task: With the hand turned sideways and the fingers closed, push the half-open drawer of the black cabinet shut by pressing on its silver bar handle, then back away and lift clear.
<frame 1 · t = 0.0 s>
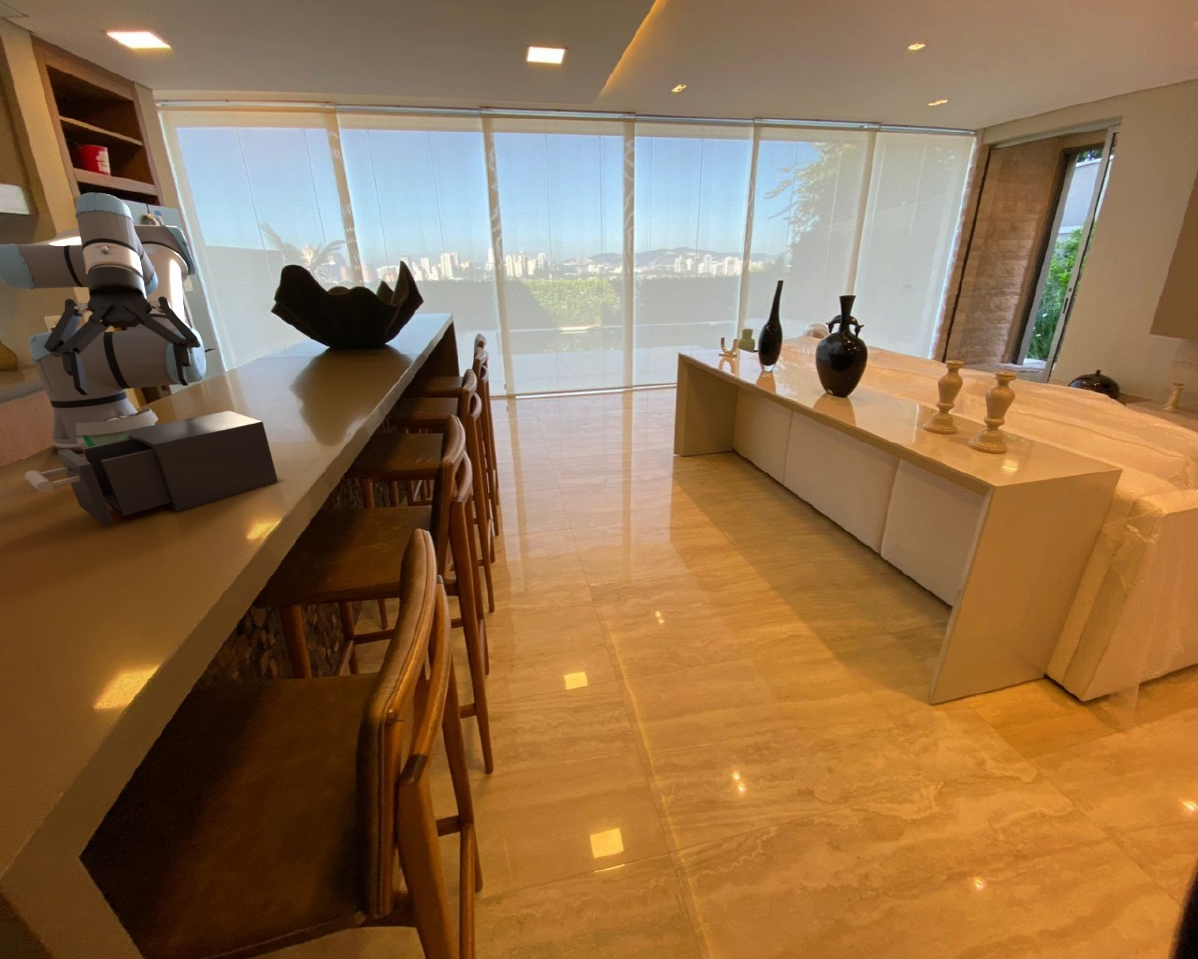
hand: (134, 387, 89), 15 cm above the counter, tool tilted 35°, fingers open, 13 cm apart
drawer: (120, 477, 78), point 5 cm above the counter, slide at 7.0 cm
cabinet: (214, 487, 88), on the counter
food container: (143, 468, 97), on the counter
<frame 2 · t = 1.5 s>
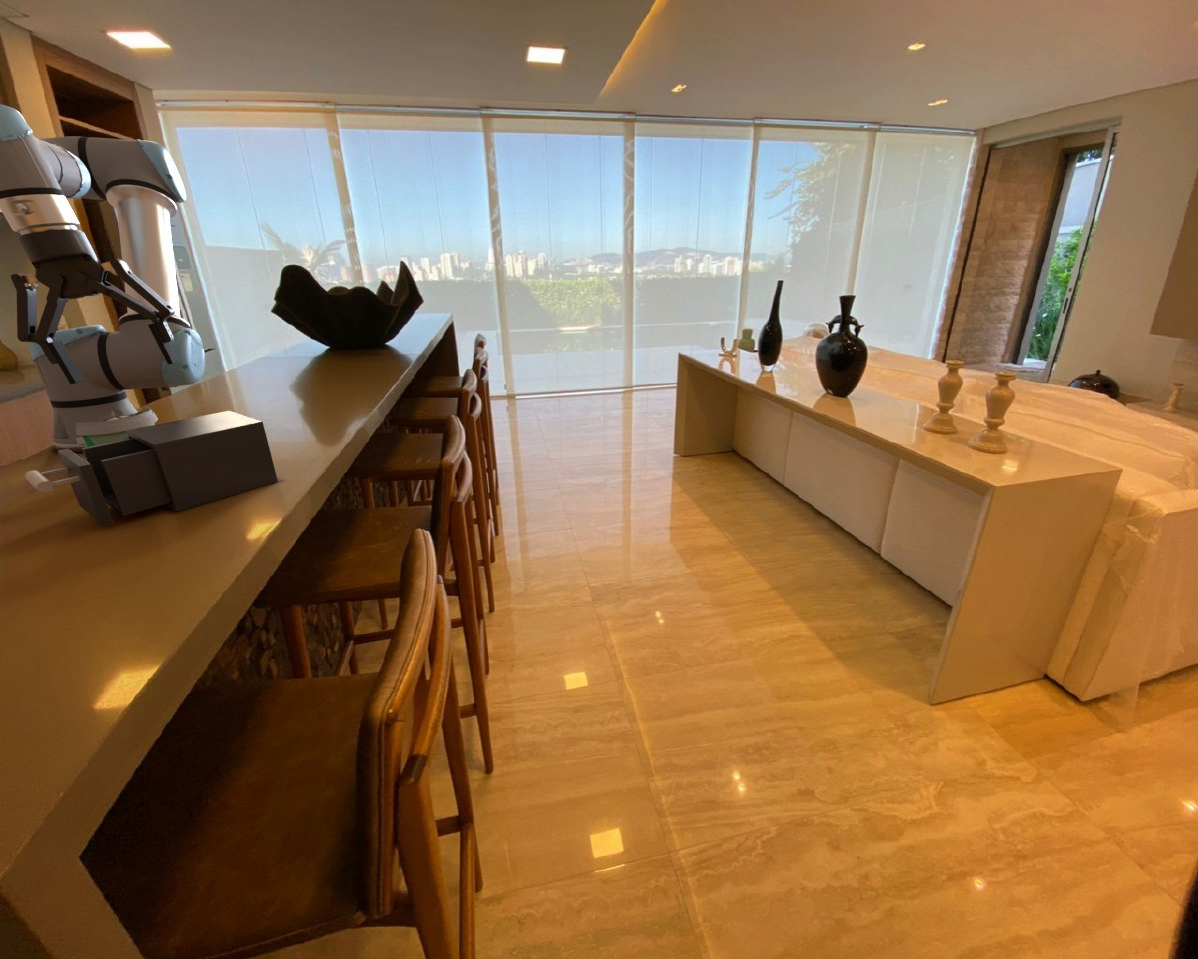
hand: (126, 372, 87), 18 cm above the counter, tool pointing down, fingers open, 13 cm apart
nothing on the counter moved.
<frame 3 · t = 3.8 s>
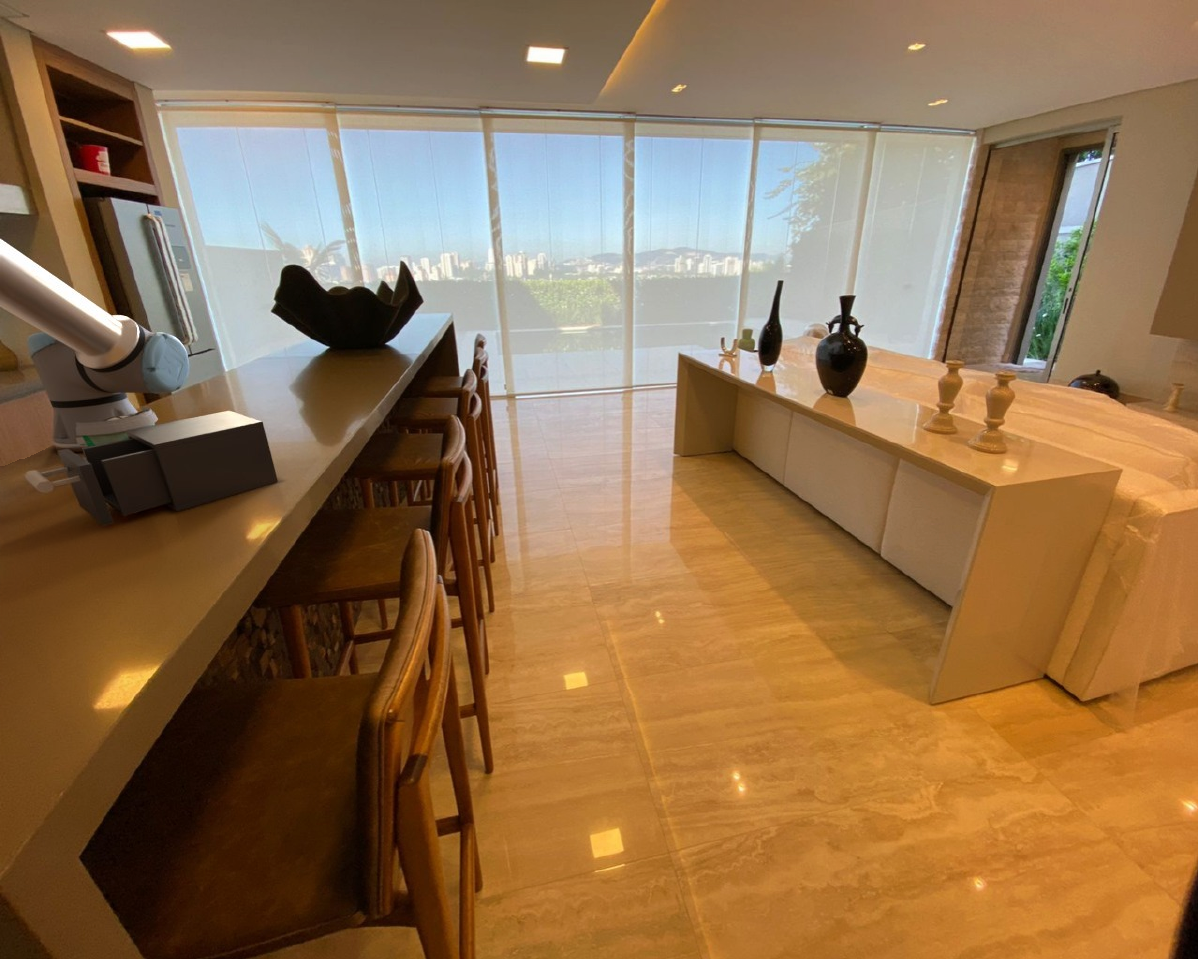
nothing on the counter moved.
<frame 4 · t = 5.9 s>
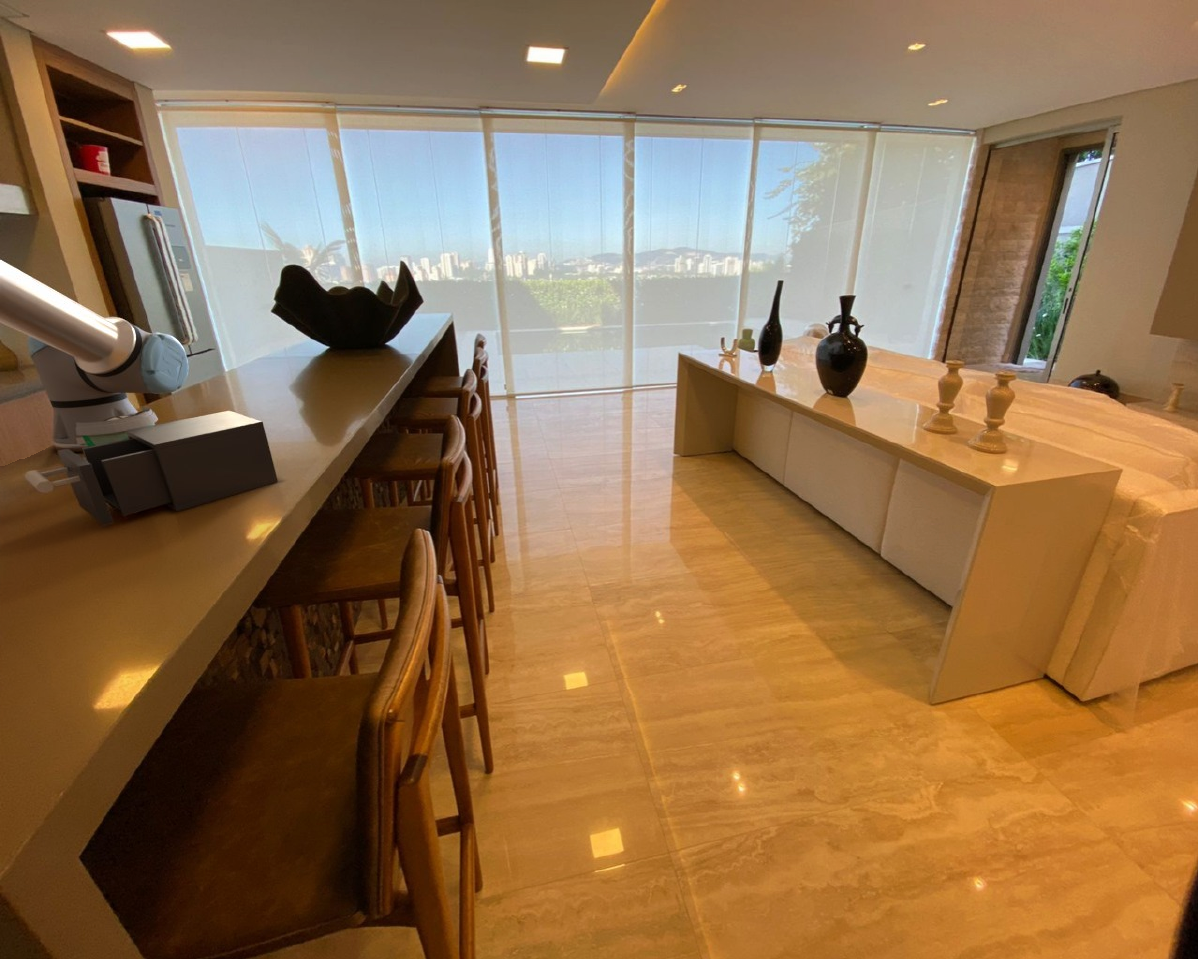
nothing on the counter moved.
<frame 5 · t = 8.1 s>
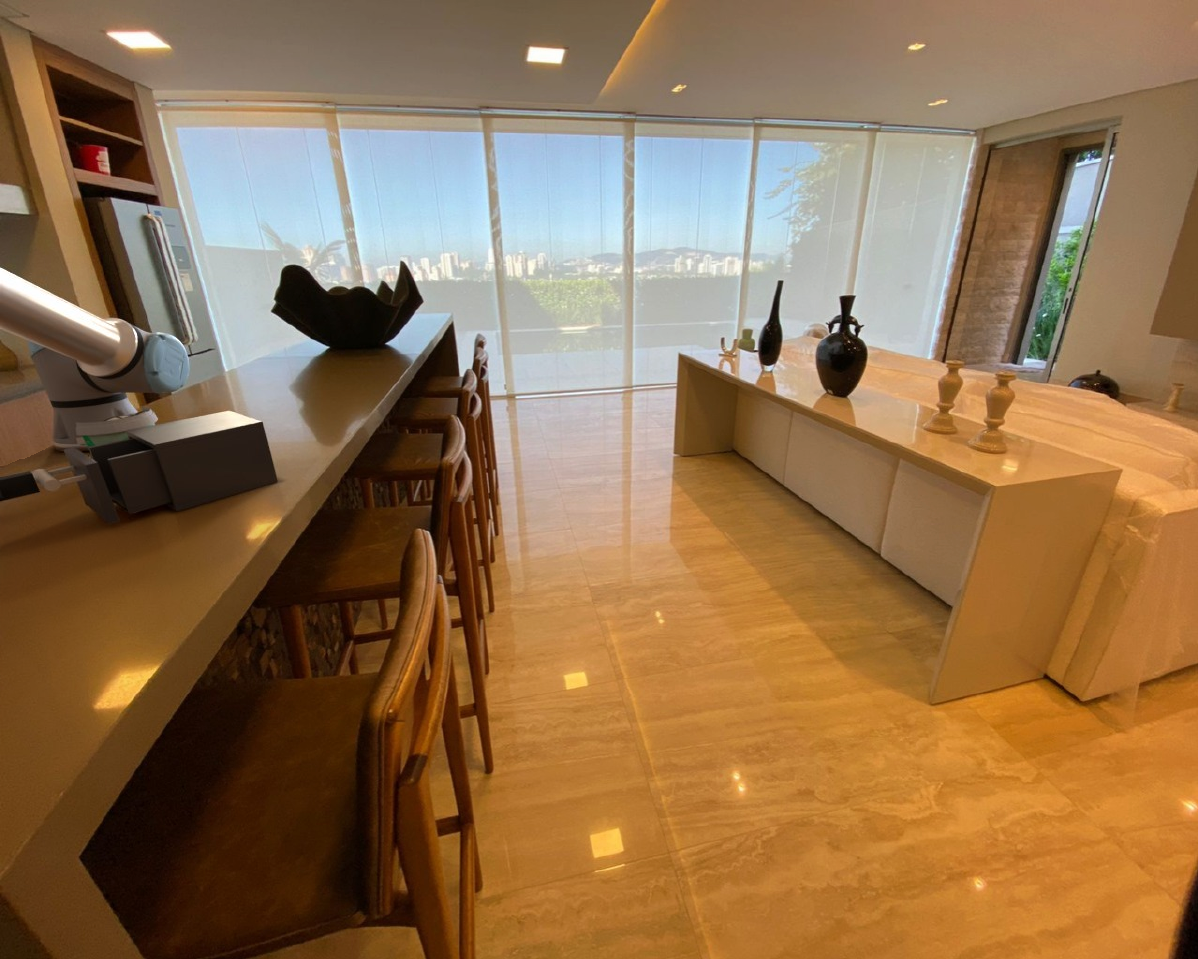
hand: (34, 481, 71), 8 cm above the counter, tool horizontal, fingers closed
drawer: (126, 476, 78), point 5 cm above the counter, slide at 6.3 cm, touching gripper
everything else where it was.
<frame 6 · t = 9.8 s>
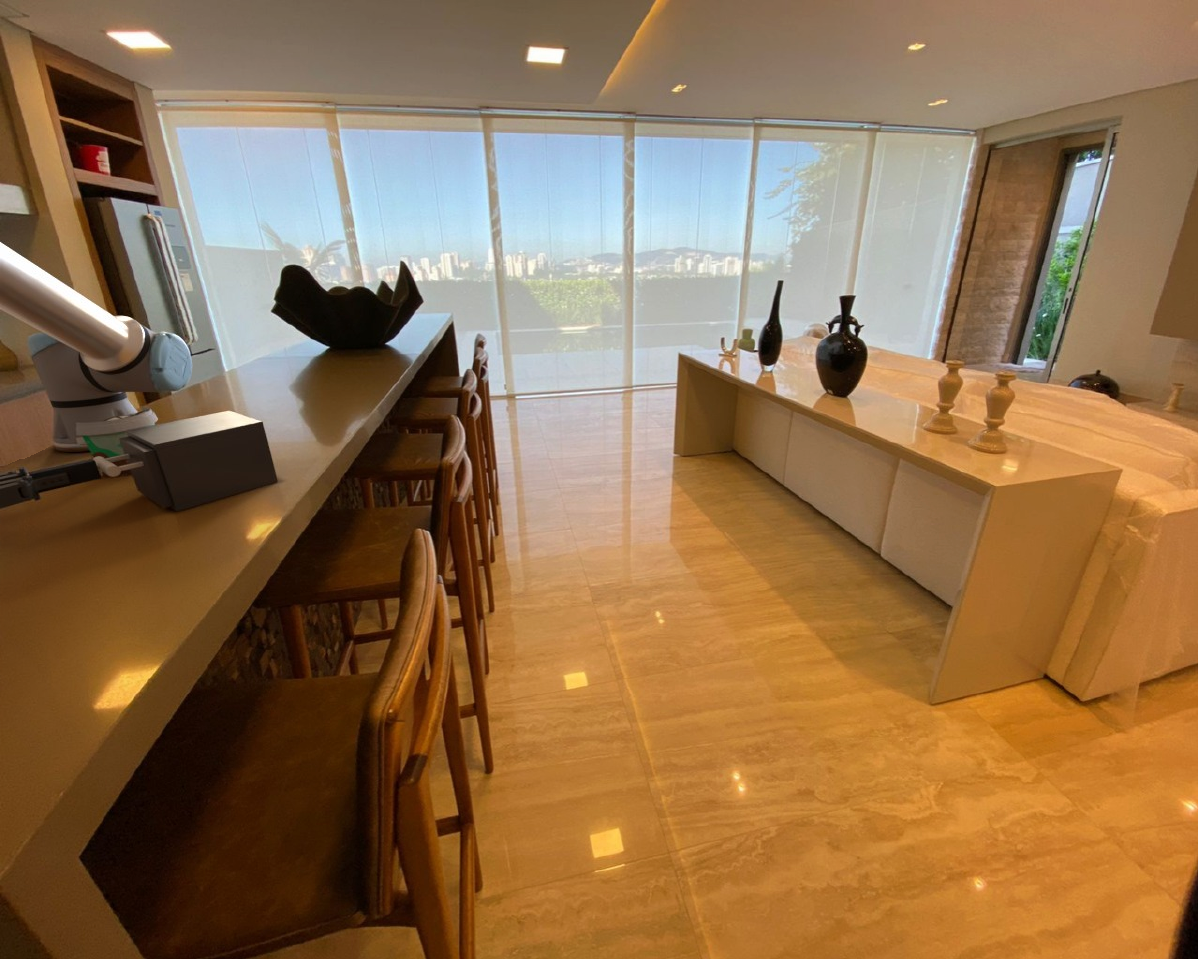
hand: (96, 468, 75), 7 cm above the counter, tool horizontal, fingers closed
drawer: (176, 464, 83), point 5 cm above the counter, slide at 0.0 cm, touching cabinet, gripper
everything else where it was.
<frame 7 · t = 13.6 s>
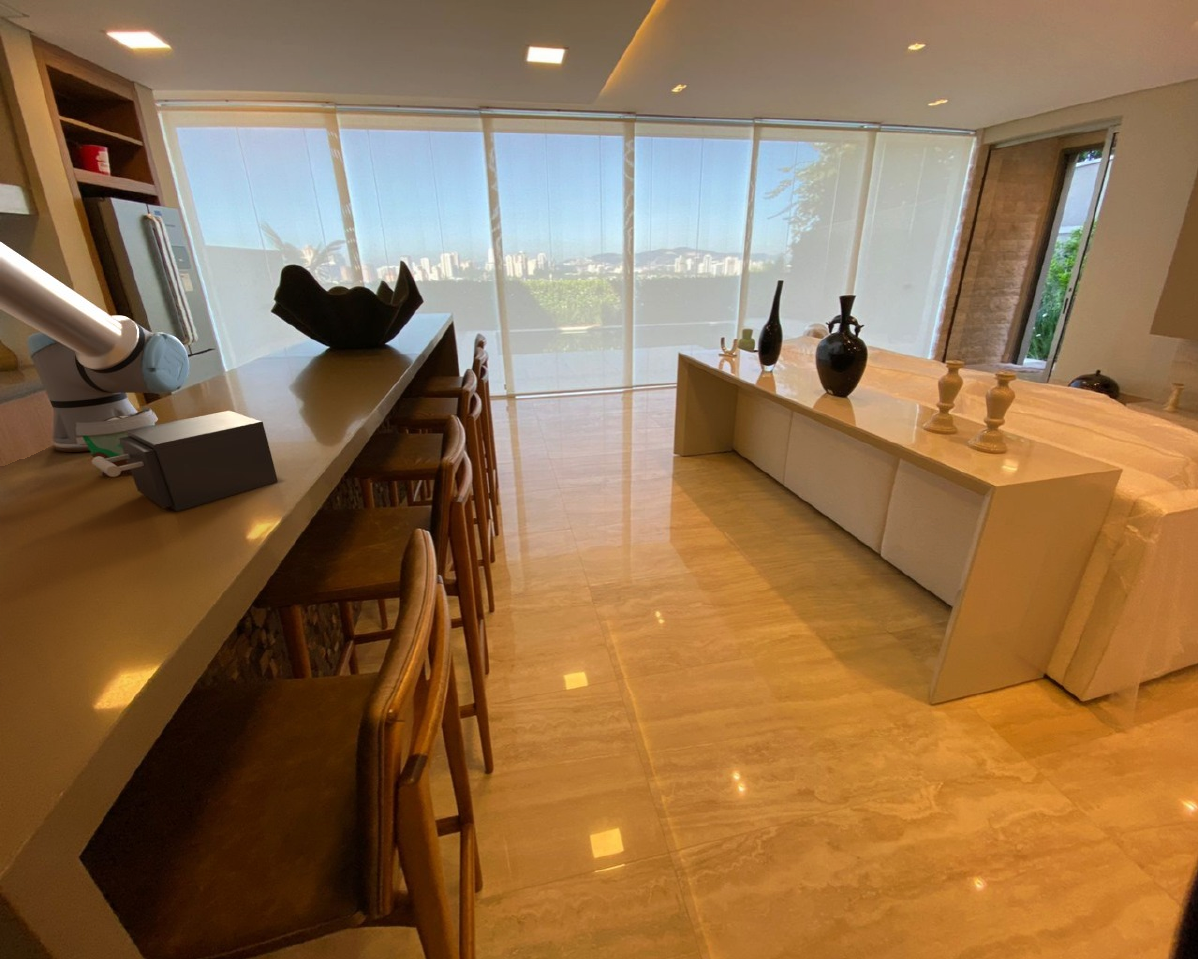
drawer: (176, 464, 83), point 5 cm above the counter, slide at 0.0 cm, touching cabinet
everything else where it was.
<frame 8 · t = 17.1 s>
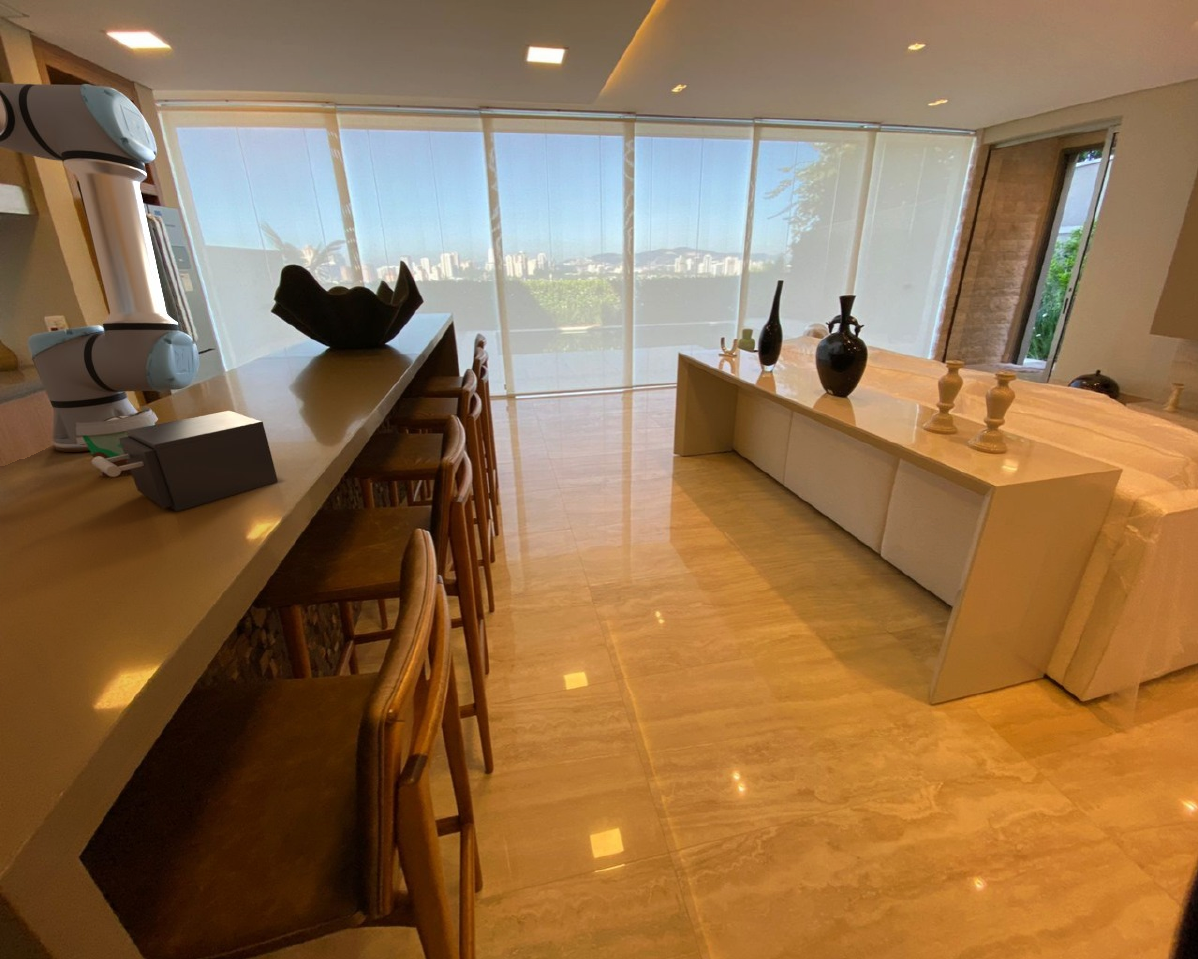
nothing on the counter moved.
at the end: drawer slide at 0.0 cm; food container moved 0.2 cm from its start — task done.
